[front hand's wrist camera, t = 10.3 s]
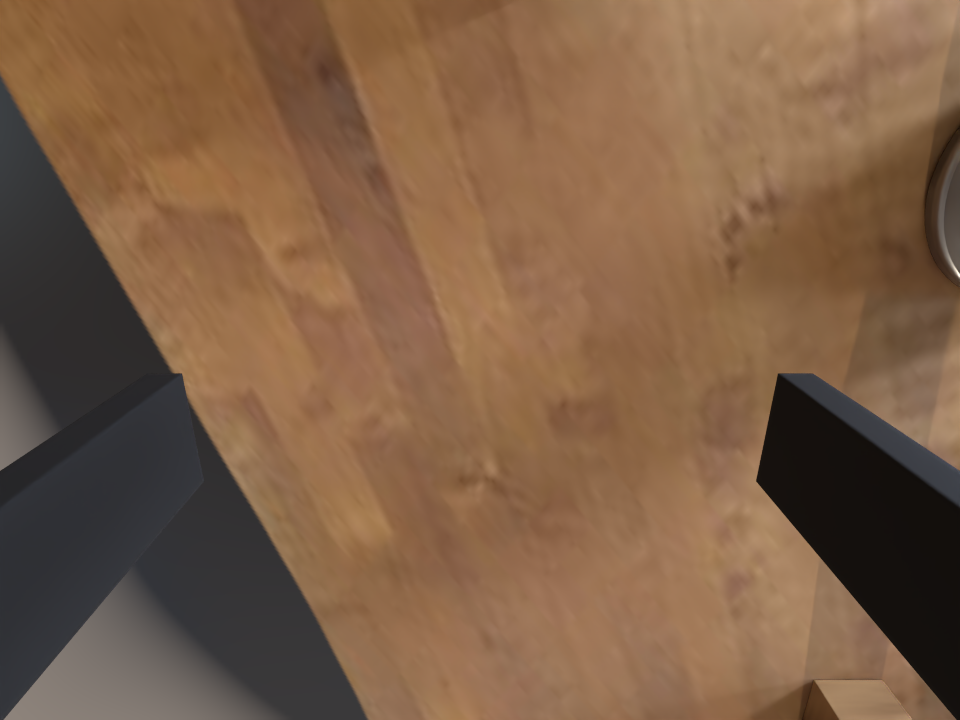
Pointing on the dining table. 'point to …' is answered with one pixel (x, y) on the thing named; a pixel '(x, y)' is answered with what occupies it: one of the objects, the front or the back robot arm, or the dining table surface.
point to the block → (853, 701)
